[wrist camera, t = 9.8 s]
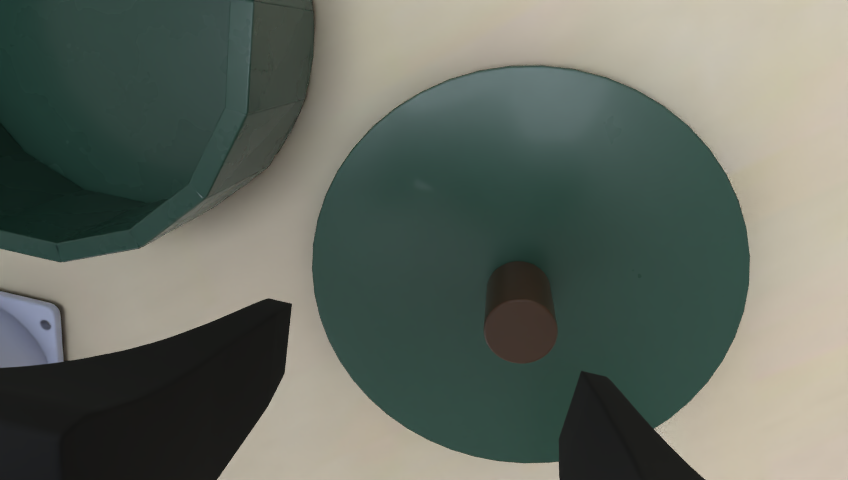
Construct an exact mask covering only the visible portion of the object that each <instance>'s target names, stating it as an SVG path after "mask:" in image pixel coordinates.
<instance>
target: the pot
mask: <svg viewBox="0 0 848 480" xmlns="http://www.w3.org/2000/svg"><path fill="white" fill-rule="evenodd" d="M313 14H314V12H313V7H312V0H0V249H5V250H9V251H13V252H18V253H22V254H26V255H31V256H35V257H39V258H44V259H48V260H53V261H57V262H67V261H73V260H78V259H84V258H89V257H95V256H101V255H106V254H112V253H117V252H123V251H128V250H134V249H139V248H141V247H144V246H145V245H147V244H149V243H151V242H153V241H154V240H156V239H158V238H160V237H161V236H163V235H165V234H167V233H169V232H170V231H172V230H174V229H176V228H178V227H179V226H181V225H183V224H185V223H186V222H188V221H190V220H192V219H194V218H195V217H197V216H199V215H201V214H203V213H204V212H206V211H208V210H210V209H211V208H213V207H215V206H217V205H218V204H219V203H221V202H222V201H223V200H225V199H226V198H227V197H229V196H230V195H231V194H233V193H234V192H235V191H237V190H238V189H240V188H241V187H243V186H245V185H246V184H247V183H248V182H250V181H251V180H252V179H253V178H254V177H256V176H257V175H258V174H260V173H261V172H262V171H264V170H265V169H266V168H268V166H269V165H270V164H271V162H272V160H273V158H274V157H275V155H276V154H277V153H278V151H279V150H280V148H281V147H282V145H283V143H284V142H285V140H286V139H287V137H288V135H289V134H290V132H291V130H292V128H293V126H294V123H295V121H296V119H297V117H298V115H299V112H300V110H301V107H302V104H303V102H304V99H305V97H306V90H307V87H308V84H309V78H310V72H311V65H312V59H313V43H314V20H313Z"/></svg>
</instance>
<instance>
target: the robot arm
mask: <svg viewBox="0 0 848 480" xmlns="http://www.w3.org/2000/svg"><path fill="white" fill-rule="evenodd" d="M291 307H292V304H290V303H286V302H282V301H277V300H273V299H269V298H268V299H265V300H262V301H260V302H257V303H255V304H252V305H250V306H248V307H245V308H243V309H241V310H238V311H236V312H234V313H231V314H229V315H227V316H224V317H222V318H220V319H217V320H215V321H213V322H210V323H208V324H205V325H202V326H200V327H197V328H194V329H192V330H189V331H186V332H184V333H181V334H178V335H175V336H173V337H170V338H167V339H164V340H161V341H157V342H154V343H151V344H147V345H143V346H139V347H136V348H132V349H128V350H124V351H119V352H114V353H109V354H104V355H99V356H94V357H89V358H84V359H79V360H72V361H65V362H64V360H63V345H62V330H61V315H60V311H59V309H58V308H57V307H56V306H55V305H54V304H52V303H49V302H45V301H41V300H36V299H32V298H28V297H24V296H19V295H15V294H11V293H7V292H2V291H0V480H217V479H218V477H219V476H220V474H221V473H222V471H223V470H224V469H225V467H226V466H227V464H228V463H229V461H230V460H231V459H232V457H233V456H234V454H235V453H236V451H237V450H238V449H239V447H240V446H241V444H242V443H243V442H244V440H245V439H246V437H247V436H248V434H249V433H250V432H251V430H252V429H253V427H254V426H255V424H256V423H257V421H258V420H259V419H260V417H261V416H262V414H263V413H264V411H265V410H266V408H267V407H268V405H269V403H270V401H271V399H272V397H273V395H274V393H275V392H276V390H277V387H278V385H279V383H280V381H281V379H282V377H283V375H284V373H285V363H286V354H287V345H288V335H289V326H290V317H291ZM47 321H48V322H49V323H50V324H49V323H48V322H47ZM559 478H560V480H705V479H704V478H703V477H701V476H700V475H699V474H698V473H697V472H696V471H695V470H694V469H693V468H692V467H690V466H689V465H688V464H687V463H686V462H685V461H684V460H683V459H682V458H681V457H680V456H679V455H678V454H677V453H676V452H675V451H674V450H673V449H672V448H671V447H670V446H669V445H668V444H667V443H666V442H665V441H664V440H663V439H662V437H661V436H660V435H659V434H658V433H657V432H656V431H655V430H654V429H653V428H652V427H651V426H650V424H649V423H648V422H647V421H646V420H645V419H644V418H643V417H642V415H641V414H640V413H639V412H638V411H637V410H636V409H635V407H634V406H633V405H632V404H631V403H630V402H629V400H628V399H627V398H626V397H625V396H624V395H623V394H622V392H621V391H620V390H619V389H618V388H617V387H616V386H615V384H614V383H613V382H612V381H611V380H610V379H609V378H608V377H606V376H602V375H598V374H593V373H589V372H585V371H581V373H580V376H579V379H578V382H577V385H576V388H575V391H574V394H573V397H572V400H571V403H570V406H569V409H568V412H567V415H566V418H565V421H564V425H563V428H562V431H561V434H560V437H559Z"/></svg>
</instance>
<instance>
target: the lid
mask: <svg viewBox="0 0 848 480" xmlns="http://www.w3.org/2000/svg"><path fill="white" fill-rule="evenodd" d="M749 264H750V254H749V246H748V238H747V230H746V225H745V222H744V218H743V215H742V211H741V208H740V204H739V201H738V199H737V196H736V194H735V192H734V190H733V188H732V186H731V183H730V181H729V179H728V177H727V175H726V173H725V172H724V170H723V169H722V167H721V166H720V164H719V163H718V161H717V160H716V158H715V157H714V155H713V154H712V152H711V151H710V149H709V148H708V147H707V146H706V145H705V144H704V142H703V141H702V140H701V139H700V138H699V137H698V136H697V135H696V134H695V133H694V131H693V130H692V129H691V128H690V127H689V126H688V125H687V124H685V123H684V122H683V121H682V120H680V119H679V118H678V117H677V116H675V115H674V114H673V113H672V112H671V111H669V110H668V109H667V108H666V107H664V106H663V105H661V104H659V103H658V102H656V101H654V100H653V99H651V98H649V97H648V96H646V95H644V94H643V93H641V92H639V91H637V90H635V89H633V88H631V87H628V86H626V85H623V84H621V83H619V82H616V81H614V80H611V79H609V78H606V77H603V76H599V75H595V74H592V73H588V72H584V71H580V70H576V69H570V68H562V67H553V66H545V65H525V66H506V67H499V68H493V69H486V70H480V71H476V72H473V73H469V74H466V75H462V76H459V77H456V78H452V79H449V80H447V81H445V82H442V83H440V84H438V85H436V86H433V87H431V88H429V89H427V90H425V91H422V92H420V93H419V94H417V95H416V96H414V97H412V98H411V99H409V100H408V101H406V102H404V103H403V104H401V105H400V106H398V107H396V108H395V109H394V110H392V111H391V112H390V113H389V114H388V115H386V116H385V117H384V118H383V119H382V120H380V121H379V122H378V123H377V124H376V125H374V126H373V127H372V128H371V129H370V130H369V131H368V132H367V134H366V135H365V136H364V137H363V138H362V139H361V140H360V141H359V142H358V143H357V145H356V146H355V147H354V148H353V149H352V151H351V152H350V154H349V155H348V156H347V158H346V159H345V161H344V162H343V164H342V165H341V167H340V168H339V170H338V171H337V173H336V175H335V177H334V179H333V181H332V183H331V185H330V187H329V189H328V191H327V193H326V196H325V199H324V202H323V205H322V208H321V211H320V214H319V217H318V221H317V226H316V232H315V237H314V243H313V262H312V272H313V282H314V293H315V298H316V302H317V306H318V310H319V315H320V318H321V321H322V324H323V326H324V329H325V332H326V334H327V337H328V340H329V342H330V343H331V345H332V347H333V349H334V351H335V353H336V355H337V357H338V359H339V360H340V362H341V363H342V365H343V366H344V368H345V369H346V371H347V372H348V373H349V375H350V376H351V378H352V379H353V381H354V382H355V383H356V384H357V385H358V386H359V387H360V388H361V390H362V391H363V392H364V393H365V394H366V395H367V396H368V397H369V399H371V400H372V401H373V402H374V403H375V404H376V405H377V406H379V407H380V408H381V409H382V410H383V411H384V412H385V413H386V414H388V415H389V416H390V417H392V418H393V419H395V420H396V421H398V422H399V423H400V424H402V425H403V426H405V427H406V428H408V429H409V430H411V431H413V432H415V433H417V434H418V435H420V436H422V437H424V438H426V439H428V440H430V441H432V442H434V443H437V444H439V445H442V446H444V447H446V448H449V449H451V450H455V451H458V452H461V453H465V454H468V455H471V456H475V457H480V458H485V459H491V460H496V461H504V462H516V463H550V462H558V461H559V437H560V434H561V431H562V428H563V425H564V421H565V418H566V415H567V412H568V409H569V406H570V403H571V400H572V397H573V394H574V391H575V388H576V385H577V382H578V379H579V376H580V373H581V371H585V372H589V373H593V374H598V375H602V376H606V377H608V378H609V379H610V380H611V381H612V382H613V383H614V384H615V386H616V387H617V388H618V389H619V390H620V391H621V392H622V394H623V395H624V396H625V397H626V398H627V399H628V400H629V402H630V403H631V404H632V405H633V406H634V407H635V409H636V410H637V411H638V412H639V413H640V414H641V415H642V417H643V418H644V419H645V420H646V421H647V422H648V423H649V424H650V426H651V427H652V428H653V429H654V428H656V427H657V426H659V425H660V424H662V423H663V422H665V421H666V420H668V419H669V418H671V417H672V416H673V415H674V414H675V413H677V412H678V411H679V410H680V409H681V408H683V407H684V406H685V405H686V404H687V403H688V402H690V401H691V400H692V398H693V397H694V396H695V395H696V394H697V393H698V392H699V391H700V390H701V389H702V388H703V386H704V385H705V384H706V383H707V382H708V381H709V379H710V378H711V376H712V375H713V374H714V372H715V371H716V369H717V368H718V367H719V365H720V364H721V362H722V361H723V359H724V357H725V355H726V353H727V351H728V349H729V347H730V345H731V343H732V342H733V340H734V338H735V335H736V332H737V329H738V327H739V324H740V321H741V318H742V315H743V312H744V307H745V302H746V297H747V291H748V286H749Z"/></svg>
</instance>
